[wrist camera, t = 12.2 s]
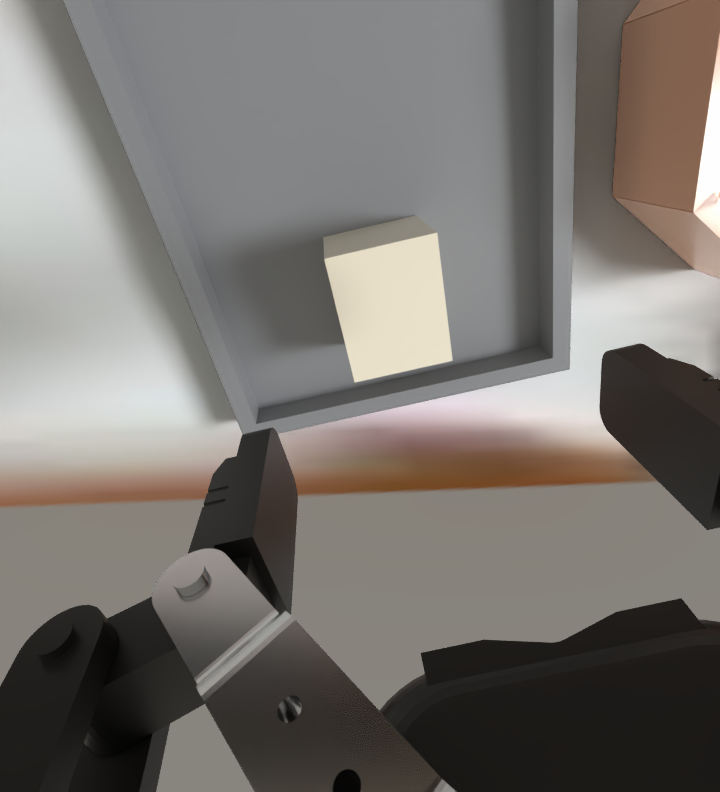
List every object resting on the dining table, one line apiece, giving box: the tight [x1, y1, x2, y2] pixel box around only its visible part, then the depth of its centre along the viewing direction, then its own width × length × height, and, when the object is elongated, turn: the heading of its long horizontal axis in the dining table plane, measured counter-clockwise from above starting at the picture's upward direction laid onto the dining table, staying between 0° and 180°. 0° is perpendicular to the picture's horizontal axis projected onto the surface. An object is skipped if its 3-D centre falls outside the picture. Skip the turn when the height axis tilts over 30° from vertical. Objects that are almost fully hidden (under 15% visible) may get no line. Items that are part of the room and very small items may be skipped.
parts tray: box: [63, 0, 578, 434], centre depth 18 cm, size 21×16×2 cm
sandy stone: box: [323, 215, 453, 382], centre depth 19 cm, size 5×4×4 cm
